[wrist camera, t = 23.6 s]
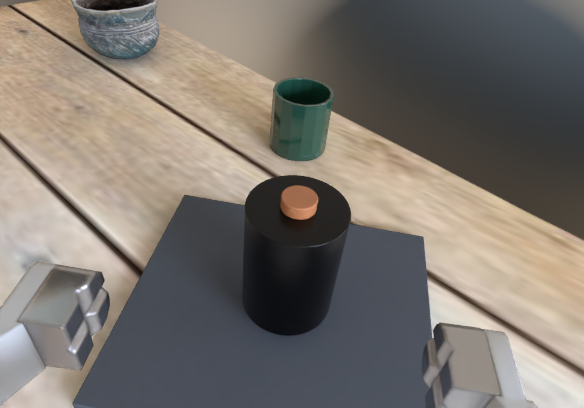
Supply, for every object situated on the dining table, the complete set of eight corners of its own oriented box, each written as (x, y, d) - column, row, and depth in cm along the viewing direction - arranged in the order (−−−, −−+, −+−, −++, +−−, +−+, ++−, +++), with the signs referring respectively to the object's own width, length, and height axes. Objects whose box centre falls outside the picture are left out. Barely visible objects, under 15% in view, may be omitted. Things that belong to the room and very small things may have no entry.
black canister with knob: (223, 310, 30) (222, 199, 23) (276, 259, 33) (287, 152, 27) (295, 360, 27) (315, 253, 21) (343, 299, 31) (372, 193, 25)
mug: (106, 76, 53) (89, -15, 46) (59, 40, 59) (38, -44, 53) (177, 58, 59) (170, -26, 52) (127, 26, 65) (115, -52, 58)
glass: (264, 155, 44) (268, 100, 40) (275, 126, 48) (279, 73, 44) (321, 165, 44) (330, 110, 40) (327, 134, 48) (336, 82, 44)
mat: (74, 408, 25) (71, 403, 24) (185, 199, 38) (184, 194, 38) (441, 485, 23) (444, 481, 23) (421, 241, 37) (423, 236, 37)
